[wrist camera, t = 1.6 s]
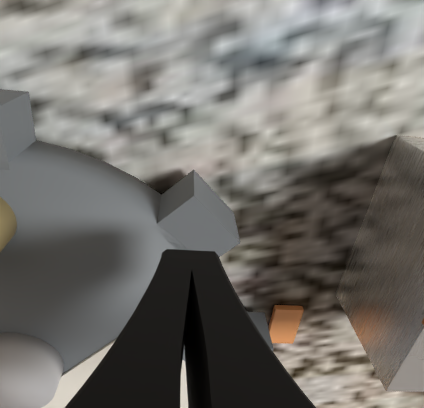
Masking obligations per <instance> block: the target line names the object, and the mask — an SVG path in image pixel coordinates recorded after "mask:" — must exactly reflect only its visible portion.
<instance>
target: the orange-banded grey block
mask: <svg viewBox="0 0 424 408" xmlns="http://www.w3.org/2000/svg"><path fill="white" fill-rule="evenodd" d="M336 296H337V298H338V300H339V302H340V303H341V305H342V307H343V309H344V311H345V313H346V315H347V317H348V319H349V321H350V323H351V325H352V327H353V328H354V330H355V332H356V334H357V336H358V338H359V340H360V342H361V344H362V346H363V348H364V350H365V351H366V353H367V355H368V357H369V359H370V361H371V363H372V365H373V367H374V369H375V371H376V373H377V375H378V376H379V378H380V380H381V382H382V384H383V386H384V388H385V390H386V391H423V392H424V138H421V137H410V136H399V135H396V136H395V139H394V141H393V144H392V147H391V149H390V152H389V155H388V157H387V160H386V162H385V165H384V168H383V170H382V173H381V176H380V178H379V181H378V183H377V186H376V189H375V191H374V194H373V197H372V199H371V202H370V204H369V207H368V210H367V212H366V215H365V218H364V220H363V223H362V225H361V228H360V231H359V233H358V236H357V239H356V241H355V244H354V246H353V249H352V252H351V254H350V257H349V260H348V262H347V265H346V267H345V270H344V273H343V275H342V278H341V281H340V283H339V286H338V288H337V291H336Z"/></svg>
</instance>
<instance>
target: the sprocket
mask: <svg viewBox="0 0 424 408" xmlns="http://www.w3.org/2000/svg"><path fill="white" fill-rule="evenodd" d="M239 243H240V240H239V235H238V231H237V226H236V221H235V217H234V213H233V211H232V210H231V209H230V208H229V207H228V206H227V205H226V204H225V203H224V202H223V201H222V200H221V199H220V197H219V196H218V195H217V194H216V193H215V192H214V191H213V190H212V189H211V188H210V187H209V186H208V185H207V183H206V182H205V181H204V180H203V179H202V178H201V177H200V176H199V175H198V174H197V173H196V172H195V170H193V171H191V172H190V173H189V174H188V175H186V176H185V177H184V178H182V179H181V180H180V181H179V182H177V183H176V184H175V185H174V186H172V187H171V188H170V189H168V190H167V191H166V192H165V193H163V194H162V195H161V194H160V193H158V192H157V191H155V190H154V189H152V188H151V187H149V186H148V185H146V184H145V183H143V182H142V181H140V180H139V179H137V178H136V177H134V176H132V175H130V174H128V173H126V172H124V171H122V170H120V169H118V168H116V167H114V166H112V165H110V164H108V163H106V162H104V161H101V160H99V159H96V158H93V157H91V156H88V155H85V154H83V153H80V152H77V151H75V150H72V149H68V148H65V147H61V146H57V145H53V144H49V143H45V142H41V141H37V140H36V136H35V130H34V123H33V117H32V110H31V104H30V97H29V92H24V91H13V90H3V89H0V408H65V406H66V405H67V404H68V403H69V402H70V400H71V399H72V398H73V397H74V396H75V394H76V393H77V392H78V391H79V389H80V388H81V387H82V386H83V384H84V383H85V382H86V380H87V379H88V378H89V376H90V375H91V374H92V373H93V371H94V370H95V369H96V367H97V366H98V365H99V363H100V362H101V360H102V359H103V358H104V356H105V355H106V354H107V352H108V351H109V349H110V348H111V346H112V345H113V344H114V342H115V341H116V339H117V337H118V336H119V334H120V333H121V331H122V330H123V328H124V327H125V325H126V324H127V322H128V321H129V319H130V317H131V316H132V314H133V313H134V311H135V309H136V308H137V306H138V304H139V302H140V300H141V299H142V297H143V295H144V293H145V292H146V290H147V288H148V286H149V284H150V282H151V280H152V278H153V276H154V274H155V272H156V269H157V267H158V264H159V262H160V259H161V255H162V252H164V251H165V250H166V249H177V250H197V251H215V252H216V253H217V255H218V256H219V257H220V256H221V255H223V254H224V253H226V252H227V251H229V250H230V249H232V248H233V247H235V246H236V245H238V244H239ZM247 313H248V314H249V316H250V318H251V320H252V321H253V323H254V324H255V326H256V327H257V329H258V331H259V332H260V334H261V335H262V337H263V338H264V340H265V341H266V343H267V344H268V346H269V347H270V349H271V350H272V351H273V345H272V341H271V337H270V333H269V329H268V325H267V321H266V317H265V313H264V312H247ZM180 408H188V395H187V380H186V365H185V349H184V352H183V360H182V369H181V388H180Z"/></svg>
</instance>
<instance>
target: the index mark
mask: <svg viewBox="0 0 424 408" xmlns="http://www.w3.org/2000/svg"><path fill="white" fill-rule="evenodd" d="M303 311H304V310H303V307H302V306H292V305H274V308H273V312H272V316H271V320H270V323H269V327H268V329H269V333H270V337H271V341H272V343H293V342H294V339H295V336H296V333H297V330H298V327H299V324H300V321H301V318H302V315H303Z"/></svg>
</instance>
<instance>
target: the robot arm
mask: <svg viewBox="0 0 424 408" xmlns="http://www.w3.org/2000/svg"><path fill="white" fill-rule="evenodd" d="M184 349H185V365H186V380H187V395H188V408H316V407H315V406H314V405H313V404H312V402H311V401H310V400H309V399H308V398H307V396H306V395H305V394H304V393H303V391H302V390H301V389H300V388H299V386H298V385H297V384H296V382H295V381H294V380H293V379H292V377H291V376H290V375H289V373H288V372H287V371H286V369H285V368H284V367H283V365H282V364H281V363H280V361H279V360H278V358H277V357H276V356H275V354H274V353H273V351H272V350H271V349H270V347H269V346H268V344H267V343H266V341H265V340H264V338H263V337H262V335H261V334H260V332H259V331H258V329H257V327H256V326H255V324H254V323H253V321H252V320H251V318H250V316H249V314H248V313H247V311H246V309H245V308H244V306H243V304H242V303H241V301H240V299H239V297H238V296H237V294H236V292H235V290H234V288H233V286H232V284H231V282H230V281H229V279H228V277H227V274H226V272H225V270H224V268H223V266H222V264H221V261H220V259H219V256H218V255H217V253H216V252H215V251H197V250H177V249H166V250H165V251H164V252H162V255H161V259H160V262H159V264H158V267H157V269H156V272H155V274H154V276H153V278H152V280H151V282H150V284H149V286H148V288H147V290H146V292H145V293H144V295H143V297H142V299H141V300H140V302H139V304H138V306H137V308H136V309H135V311H134V313H133V314H132V316H131V317H130V319H129V321H128V322H127V324H126V325H125V327H124V328H123V330H122V331H121V333H120V334H119V336H118V337H117V339H116V341H115V342H114V344H113V345H112V346H111V348H110V349H109V351H108V352H107V354H106V355H105V356H104V358H103V359H102V360H101V362H100V363H99V365H98V366H97V367H96V369H95V370H94V371H93V373H92V374H91V375H90V376H89V378H88V379H87V380H86V382H85V383H84V384H83V386H82V387H81V388H80V389H79V391H78V392H77V393H76V394H75V396H74V397H73V398H72V399H71V400H70V402H69V403H68V404H67V405H66V406H65V408H180V388H181V369H182V360H183V352H184Z"/></svg>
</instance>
